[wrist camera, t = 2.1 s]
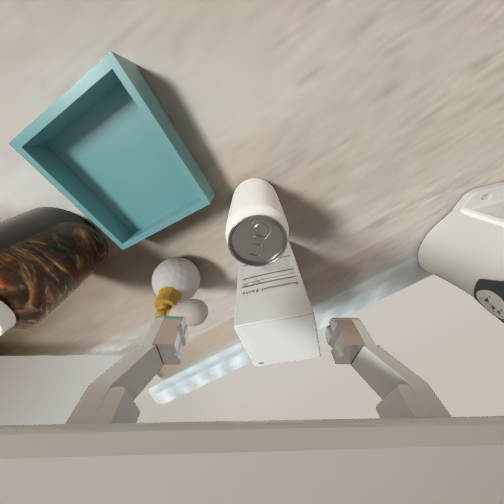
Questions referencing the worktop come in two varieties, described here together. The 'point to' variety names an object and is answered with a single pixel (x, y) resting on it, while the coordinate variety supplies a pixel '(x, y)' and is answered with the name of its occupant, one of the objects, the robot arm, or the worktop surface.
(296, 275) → the supplement box
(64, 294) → the jar
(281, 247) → the can
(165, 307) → the perfume bottle
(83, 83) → the bin
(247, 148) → the worktop surface
